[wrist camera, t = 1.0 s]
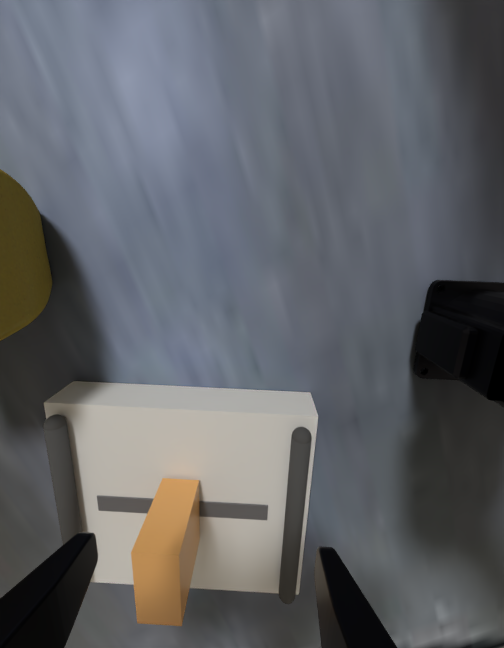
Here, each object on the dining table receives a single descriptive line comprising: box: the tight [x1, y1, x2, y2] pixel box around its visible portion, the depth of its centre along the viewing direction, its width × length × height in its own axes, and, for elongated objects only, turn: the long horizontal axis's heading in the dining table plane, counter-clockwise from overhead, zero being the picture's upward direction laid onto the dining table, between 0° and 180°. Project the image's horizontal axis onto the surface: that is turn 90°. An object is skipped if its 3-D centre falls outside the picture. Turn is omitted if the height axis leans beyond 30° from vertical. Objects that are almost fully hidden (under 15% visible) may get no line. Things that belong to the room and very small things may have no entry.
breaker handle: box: [131, 478, 200, 626], centre depth 17 cm, size 2×5×5 cm, turn 178°
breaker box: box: [44, 381, 318, 595], centre depth 21 cm, size 17×15×3 cm
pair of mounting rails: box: [43, 414, 312, 604], centre depth 19 cm, size 16×14×1 cm
